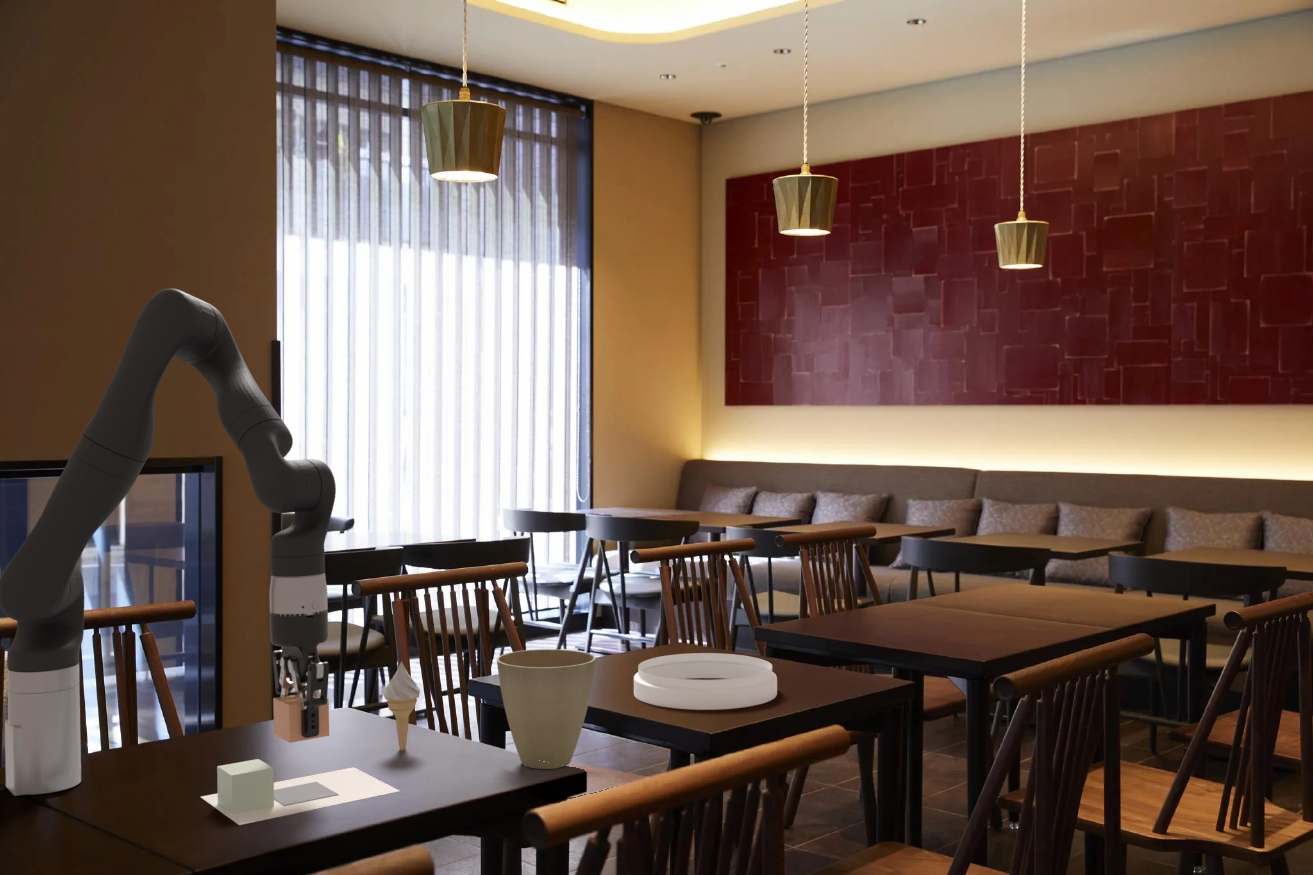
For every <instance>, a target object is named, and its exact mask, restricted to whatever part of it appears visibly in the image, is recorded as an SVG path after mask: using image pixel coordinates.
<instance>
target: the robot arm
mask: <svg viewBox="0 0 1313 875" xmlns="http://www.w3.org/2000/svg"><path fill="white" fill-rule="evenodd" d="M139 313H140V314H139V315H138V317H137V319H136V322H135V323H134V327H133V329H132V331H131V334H130V336H129V338H128V341H127V343H126V344H125V345H126V346H125V347H124V351H123V353H122V356H121V358H120V361H119V363H118V365H117V367H116V368H115V369H116V370H115V372H114V374H113V376H112V377H111V380H110V382H109V384H108V385H107V387H106V390H105V392H104V393H103V395H102V398H101V400H100V402H99V404H98V406H97V408H96V409H95V411H94V413H93V415H92V417H91V418H90V420H89V422H88V423H87V425H86V427H85V428H84V430H83V432H82V434H81V436H80V437H79V439H78V441H77V443H76V445H75V447H74V449H73V450H72V452H71V455H70V456H69V458H68V461H67V463H66V465H65V467H64V469H63V471H62V472H61V474H60V476H59V478H58V480H57V483H56V484H55V485H54V487H53V489H52V492H51V494H50V496H49V497H48V500H47V502H46V504H45V507H44V509H43V511H42V512H41V515H40V517H39V519H38V520H37V521H36V523H35V525H34V526H33V528H32V529H31V532H30V533H29V534H28V536H27V537H26V539H25V540H24V541H23V543H22V544H21V545H20V547H19V548H18V550H17V552H16V553H15V554H14V556H13V557H12V559H11V560H10V561H9V563H8V564H7V566H6V567H5V569H4V570H3V572H2V574H1V576H0V608H1V610H2V612H3V613H5V615H6V616H7V617H9V618H10V619H11V620H13V621H16V622H17V623H16V625H17V626H16V633H15V634H14V635H15V636H14V639H13V640H12V643H11V644H10V646H9V649H8V651H7V655H6V656H7V657H6V666H7V667H6V668H7V715H8V716H7V718H8V719H6V720H5V722H4V744H5V745H4V747H5V752H4V753H5V755H4V756H5V760H4V762H5V787H6V788H7V789H8V790H9V792H10V793H11V794H12V795H13V796H14V797H17V796H24V795H42V794H49V793H51V794H52V793H55V792H60V791H61V792H62V791H63V790H67V789H68V790H69V789H70V788H74V787H76V786H77V785H79V784H80V783H81V781H82V764H81V763H82V762H81V761H82V759H81V758H82V757H81V753H82V752H81V712H80V711H81V706H80V705H81V703H80V702H81V701H80V700H81V699H80V650H81V646H82V643H83V639H84V633H85V632H84V629H85V583H84V578H83V574H82V571H81V569H80V567H79V565H78V562H79V560H80V558H81V556H82V554H83V553H84V550H85V548H86V547H87V544H88V543H89V542H90V540H91V539H92V537H93V536H94V534H95V533H96V532H97V531H98V529H100V527H101V526H102V525H103V523H104V522H105V521H106V520H107V519H108V518H109V517H110V516H111V515H112V513H113V512H114V511H115V510H116V509H117V507H119V505H120V504H121V503H122V502H123V500H124V499H125V498H126V496H127V495H128V493H129V492H130V491H131V489H132V487H133V486H134V484H135V482H136V481H137V478H138V477H139V475H140V473H141V472H142V469H143V467H144V465H145V464H146V461H147V460H148V458H149V456H150V454H151V451H152V448H153V444H154V436H155V435H154V434H155V398H156V394H157V390H158V388H159V384H160V382H161V381H162V380H161V379H162V378H163V376H164V374H165V371H166V370H167V368H168V366H169V364H170V362H171V361H172V359H176V360H179V361H182V362H183V363H184V362H185V363H188V364H190V365H191V366H192V367H193V368H194V369H195V370H196V371H197V372H198V374H200V375H201V376H202V377H203V378H204V380H206V381H207V383H208V384H209V386H210V387H211V389H212V391H213V394H214V397H215V403H216V411H217V415H218V417H219V420H220V422H221V425H222V426H223V429H224V430H225V432H226V433H227V435H228V436H229V438H230V439H231V440H232V442H233V443H234V445H235V446H236V448H237V450H238V451H239V452H240V454H241V455H242V456H243V458H244V461H245V465H246V469H247V472H248V476H249V478H250V482H251V484H252V489H253V493H254V494H255V497H256V499H257V500H258V502H259V503H260V504H261V505H262V506H263V507H264V508H265V509H267V510H268V511H270V512H271V513H272V512H273V513H276V514H289V513H290V514H291V513H293V514H294V515H293V518H292V520H291V524H290V526H288V527H287V528H285V529H283V530H280V531H278V532H276V533H274V535H273V536H272V538H271V540H270V575H271V576H270V585H269V630H270V631H269V632H270V636H269V637H270V642H271V644H272V645H274V646H276V647H281V649H279V650H273V651H272V653H271V654H272V665H273V674H274V675H273V676H274V677H273V678H274V684H275V693H276V695H280V697H284V696H291V695H297V694H298V695H299V699H300V705H301V709H302V710H301V731H302V736H303V737H305V738H309V737H315V736H317V735H318V734H319V707H321V706H323V705H326V704H327V698H328V693H329V692H328V691H329V688H328V687H329V675H330V672H329V671H330V664H329V662H328V661H324V662H322V661H321V660H320V658H319V652H318V648H317V647H318V645H319V644H322V643H325V642H326V641H327V640H328V638H329V618H328V617H329V614H328V612H329V611H328V610H329V609H328V608H329V607H328V606H329V605H328V587H327V580H326V573H325V572H326V564H325V563H326V561H325V560H326V559H325V557H326V556H325V554H326V553H325V544H326V543H325V542H326V538H327V534H328V530H329V526H330V522H331V517H332V514H333V509H334V505H335V502H336V501H335V500H336V492H337V490H336V489H337V488H336V485H337V484H336V480H335V477H334V476H335V475H334V474H333V472H332V470H331V468H330V467H329V465H328V464H327V463H325V462H324V461H322V460H320V459H313V458H310V459H309V458H307V459H294V460H293V459H290V460H288V459H285V457H286V456H287V455H288V454H290V451H291V450H292V448H293V444H294V443H293V442H294V441H293V439H294V438H293V434H292V433H291V431H290V430H289V427H288V426H287V425H286V424H285V422H284V421H283V419H282V418H281V416H280V415H279V414H278V412H277V411H276V409H275V408H274V407H273V405H272V404H271V402H270V401H269V400H268V398H267V397H266V396H265V394H264V393H263V391H262V390H261V388H260V386H259V385H258V384H257V383H258V382H256V380H255V379H254V376H253V375H252V373H251V371H250V370H249V368H248V366H247V364H246V361H245V360H244V358H243V356H242V353H241V352H240V349H239V348H238V347H239V346H238V345H237V343H236V341H235V338H234V336H233V333H232V331H231V329H230V327H229V325H228V323H227V321H226V320H225V318H224V316H223V314H222V313H221V312H220V310H218V309H217V308H216V307H215V306H213V305H212V304H211V303H208V302H206V301H204V300H202V299H200V298H198V297H195V296H193V295H191V294H189V293H186V292H185V291H182V290H180V289H177V288H164V289H162V290H160V291H158V292H156V293H155V294H154V295H153V296H151V297H150V298H149V300H148V301H147V302H146V303H145V305H144V306H143V308H142V310H141V311H140V312H139ZM305 693H306V694H305ZM313 696H314V697H313Z"/></svg>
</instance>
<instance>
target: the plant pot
mask: <svg viewBox="0 0 1313 875" xmlns="http://www.w3.org/2000/svg"><path fill="white" fill-rule="evenodd" d="M596 659H597V658H596V656H595V655H594V654H591V653H590V652H584V651H580V650H570V649H559V648H558V649H555V648H554V649H553V648H551V649H550V648H545V649H542V648H541V649H540V648H539V649H526V650H518V651H517V650H516V651H512V652H511V651H510V652H507V653H504V654H502V655H500V656H498V657H497V658H496V664H497V674H498V679H499V685H500V686H499V687H500V692H501V697H502V701H503V707H504V710H505V715H506V720H507V723H508V727H509V730H510V733H511V737H512V740H513V743H514V746H515V748H516V751H517V754H518V756H519V760H520V763H521V765H523V766H524V767H527V768H530V769H536V770H551V769H560V768H562V767H563V766H562V765H565V766H564V767H566V766H569V765H570V763H571V762H572V760H573V757H574V753H575V750H576V748H577V746H578V743H579V739H580V736H581V733H582V729H583V725H584V722H585V718H586V715H587V710H588V708H589V701H590V697H591V692H592V686H593V680H594V674H595V667H596ZM539 760H540V761H539ZM543 761H545V762H543ZM548 762H549V763H548Z"/></svg>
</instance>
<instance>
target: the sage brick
mask: <svg viewBox="0 0 1313 875" xmlns="http://www.w3.org/2000/svg"><path fill="white" fill-rule="evenodd" d="M274 771H275V769H274V767H273V766H272V765H270V764H268V763H266V762H265V761H262V760H261V759H259V758H257V759H250V760H245V761H240V762H239V761H238V762H234V763H228V764H222V765H217V767H216V773H217V774H216V775H217V777H216V778H217V783H216V784H217V793H218V805H220V806H221V807H223V808H224V809H225V810H227V811H228V812H230V813H231V814H236V813H241V812H246V811H251V810H256V809H261V808H265V807H270V806H274V781H275V779H274V776H275V775H274V774H275V773H274Z"/></svg>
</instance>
